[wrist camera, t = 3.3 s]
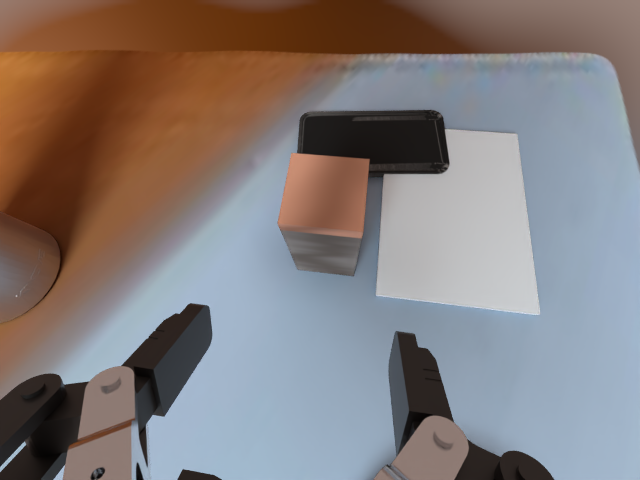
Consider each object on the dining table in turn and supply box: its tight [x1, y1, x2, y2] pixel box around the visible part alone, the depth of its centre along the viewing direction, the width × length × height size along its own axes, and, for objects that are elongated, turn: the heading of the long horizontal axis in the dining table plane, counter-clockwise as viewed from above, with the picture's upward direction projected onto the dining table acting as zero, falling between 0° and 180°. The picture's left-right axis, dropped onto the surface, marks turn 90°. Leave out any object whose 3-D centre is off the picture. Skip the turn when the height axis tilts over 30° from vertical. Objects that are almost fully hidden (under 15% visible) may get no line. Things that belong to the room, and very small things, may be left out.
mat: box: [375, 129, 540, 315], centre depth 28 cm, size 13×18×1 cm
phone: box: [297, 110, 450, 177], centre depth 31 cm, size 8×1×15 cm
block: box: [278, 153, 370, 276], centre depth 23 cm, size 5×5×10 cm
